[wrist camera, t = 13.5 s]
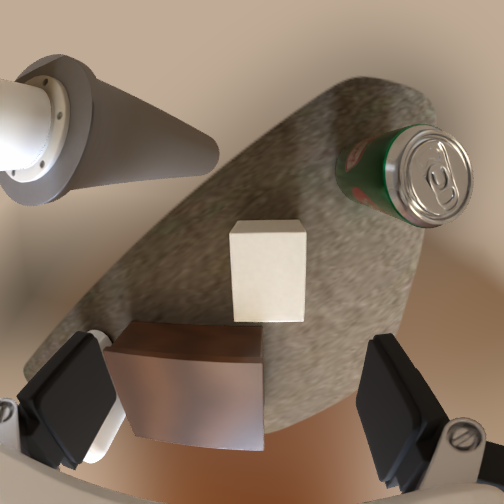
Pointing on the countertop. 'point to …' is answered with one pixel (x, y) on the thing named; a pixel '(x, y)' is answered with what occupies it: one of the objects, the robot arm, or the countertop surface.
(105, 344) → the photo printer
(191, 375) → the storage box
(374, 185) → the soda can
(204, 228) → the countertop surface
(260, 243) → the white box
